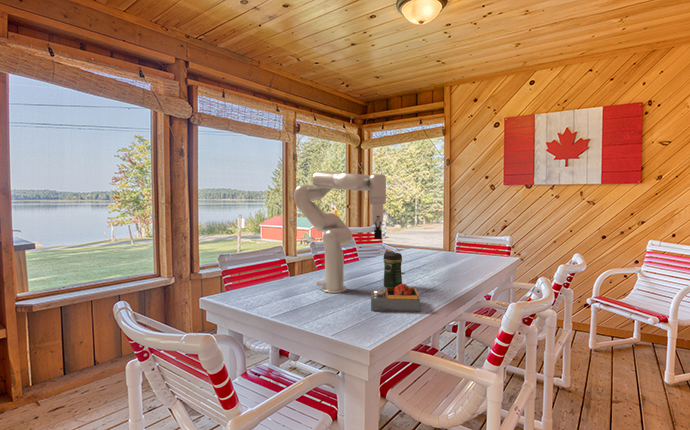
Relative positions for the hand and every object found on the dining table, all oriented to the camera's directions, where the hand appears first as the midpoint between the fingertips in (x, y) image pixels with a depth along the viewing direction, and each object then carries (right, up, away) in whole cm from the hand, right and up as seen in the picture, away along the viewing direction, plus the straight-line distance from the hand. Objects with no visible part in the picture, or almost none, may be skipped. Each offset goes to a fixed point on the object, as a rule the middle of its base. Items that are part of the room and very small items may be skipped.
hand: (377, 237), depth 162 cm
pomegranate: (+9, -25, -13) cm, 30 cm away
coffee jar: (+10, -28, +20) cm, 36 cm away
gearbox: (+6, -29, -12) cm, 32 cm away
